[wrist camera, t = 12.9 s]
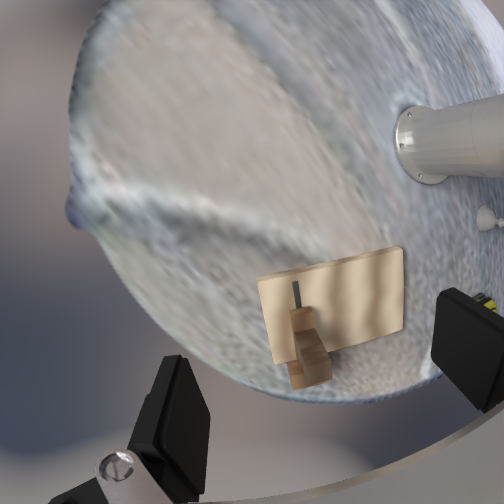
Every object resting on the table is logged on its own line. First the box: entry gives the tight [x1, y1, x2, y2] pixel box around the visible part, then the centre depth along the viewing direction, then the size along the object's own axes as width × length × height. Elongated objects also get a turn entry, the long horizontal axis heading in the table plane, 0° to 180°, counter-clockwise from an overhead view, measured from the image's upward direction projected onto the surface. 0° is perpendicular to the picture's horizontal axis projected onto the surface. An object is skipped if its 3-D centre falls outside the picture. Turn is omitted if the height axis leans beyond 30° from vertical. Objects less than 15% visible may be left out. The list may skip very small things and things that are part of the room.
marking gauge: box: [287, 306, 332, 390], centre depth 37 cm, size 6×12×12 cm, turn 11°
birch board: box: [256, 246, 404, 365], centre depth 41 cm, size 22×14×2 cm, turn 101°
